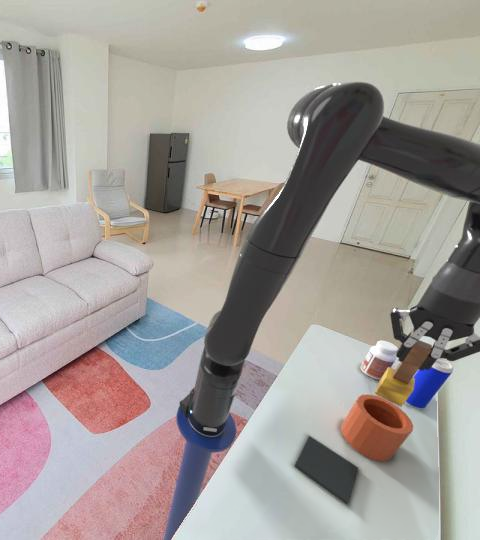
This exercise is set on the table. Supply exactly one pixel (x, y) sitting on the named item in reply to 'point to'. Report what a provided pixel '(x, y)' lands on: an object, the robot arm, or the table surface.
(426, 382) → the beverage can
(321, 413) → the table surface
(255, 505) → the table surface
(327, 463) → the mat
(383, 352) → the pill bottle
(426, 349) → the sponge brush
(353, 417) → the jar
